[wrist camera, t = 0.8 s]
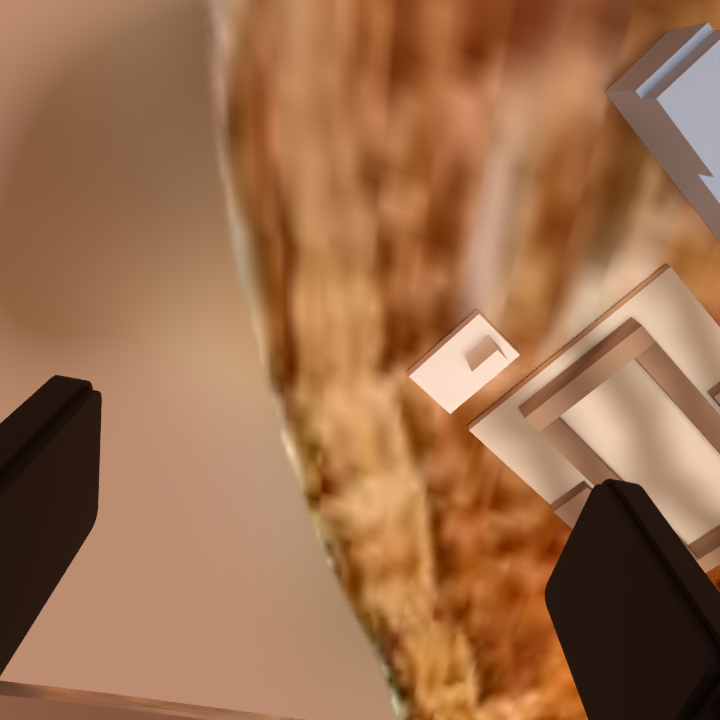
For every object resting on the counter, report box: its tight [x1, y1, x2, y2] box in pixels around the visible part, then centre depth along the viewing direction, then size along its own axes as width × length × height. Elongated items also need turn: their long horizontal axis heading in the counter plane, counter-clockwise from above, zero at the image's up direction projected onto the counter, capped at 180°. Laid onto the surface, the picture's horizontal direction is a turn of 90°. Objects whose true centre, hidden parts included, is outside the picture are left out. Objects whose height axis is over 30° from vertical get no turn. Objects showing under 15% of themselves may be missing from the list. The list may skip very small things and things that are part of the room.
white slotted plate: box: [408, 310, 519, 414], centre depth 36 cm, size 6×4×4 cm, turn 135°
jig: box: [468, 264, 720, 573], centre depth 39 cm, size 16×22×2 cm
